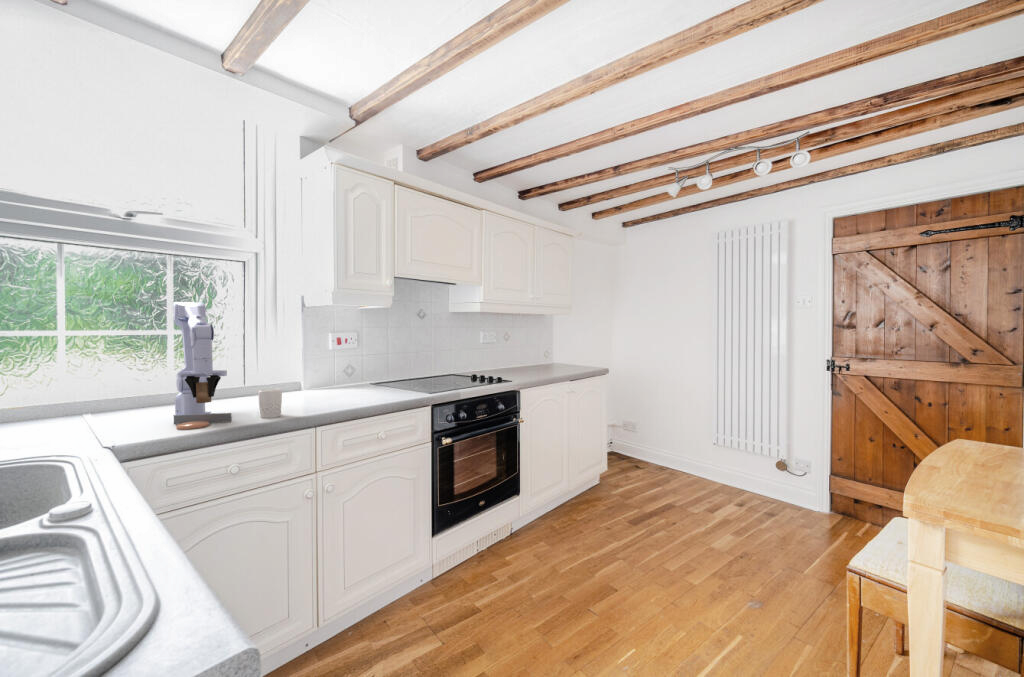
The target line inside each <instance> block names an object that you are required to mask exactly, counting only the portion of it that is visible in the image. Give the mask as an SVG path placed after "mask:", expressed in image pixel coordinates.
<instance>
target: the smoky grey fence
mask: <svg viewBox="0 0 1024 677" xmlns="http://www.w3.org/2000/svg"><path fill="white" fill-rule="evenodd" d="M173 415H174V416H173V425H178V424H181V423H186V422H193V421H208V422H209V424H211V423H212V424H213V423H231V422H232V412H227V413H226V412H224V413H223V412H220V413H208V414H189V415H175V414H173Z"/></svg>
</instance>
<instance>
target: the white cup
mask: <svg viewBox="0 0 1024 677" xmlns="http://www.w3.org/2000/svg"><path fill="white" fill-rule="evenodd" d="M257 392H258V393H257V394H258V406H259V415H260V416H259V417H260V418H261V419H272V418H278V417H281V415H282V401H283V398H282V397H283V389H282V388H264V389H260V390H258V391H257Z"/></svg>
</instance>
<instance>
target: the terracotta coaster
mask: <svg viewBox="0 0 1024 677" xmlns="http://www.w3.org/2000/svg"><path fill="white" fill-rule="evenodd" d="M175 425H176V430H180V431H181V430H182V431H187V430H188V431H189V430H196V429H203V428H206V427H208V426H210V423H209V422H208V421H193V422H186V423H181V424H175Z"/></svg>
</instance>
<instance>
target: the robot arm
mask: <svg viewBox="0 0 1024 677" xmlns="http://www.w3.org/2000/svg"><path fill="white" fill-rule="evenodd" d="M206 312H207V311H206V305H205V303H204V302H189V301H187V302H186V301H185V302H183V301H181V302H180V301H174V302H173V304H172V314H173V322H174V325H175V326H178V327H179V329H180V330H181V334H182V348H183V349H182V350H183V358H184V361H183V362H184V367H183V368H181V369H180V370H179V371H177V373H176V390H177V391H178V394H177V395H176V396H175V398H174V399H175V400H174V409H175V410H174V411H175V414H172V416H173V417H174V415H189V414H212V411H206V403H196V383H198V382H208V387H209V397H211V398H213V397H215V392H216V389H217V387H218V384H219V382H220V380H221V379H222V377H227V376H228V375H227V374H228V373H227V372H228V371H227V369H226V370H213V369H214V368H213V366H214V364H213V341H214V338H215V331H214V330H215V329H214V325H213V324H209V322H208V320H207V319H206V314H207V313H206Z"/></svg>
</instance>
